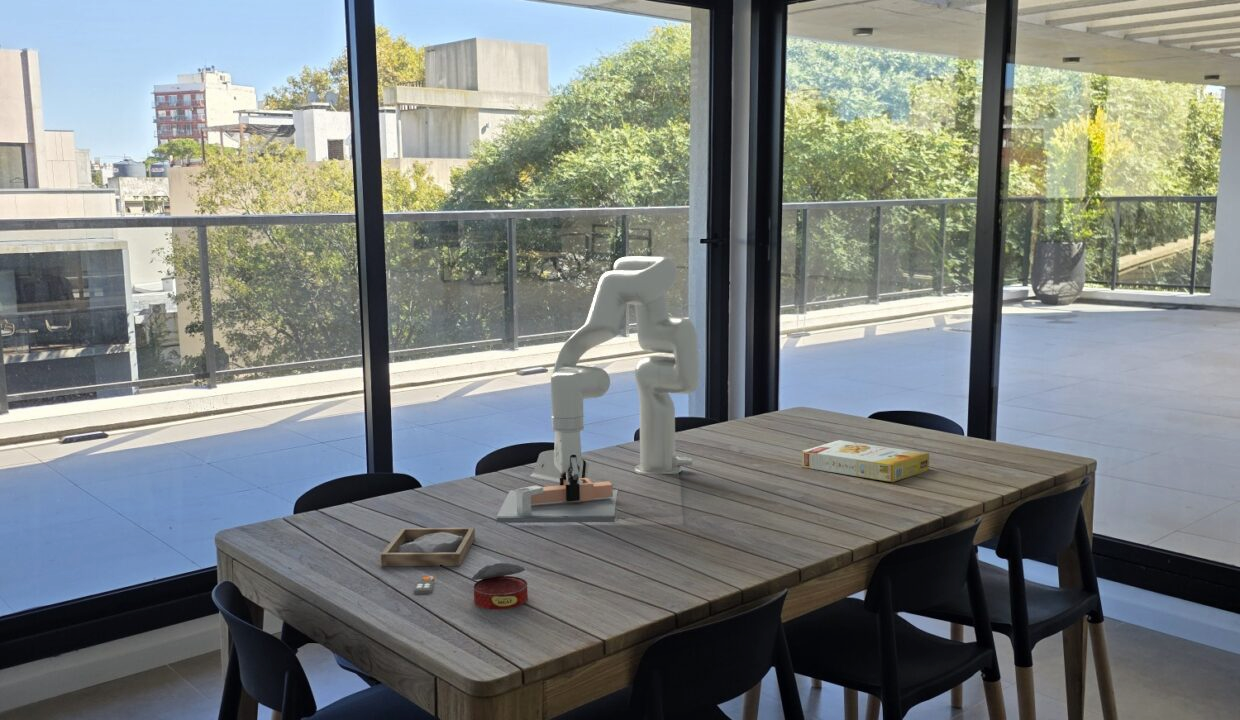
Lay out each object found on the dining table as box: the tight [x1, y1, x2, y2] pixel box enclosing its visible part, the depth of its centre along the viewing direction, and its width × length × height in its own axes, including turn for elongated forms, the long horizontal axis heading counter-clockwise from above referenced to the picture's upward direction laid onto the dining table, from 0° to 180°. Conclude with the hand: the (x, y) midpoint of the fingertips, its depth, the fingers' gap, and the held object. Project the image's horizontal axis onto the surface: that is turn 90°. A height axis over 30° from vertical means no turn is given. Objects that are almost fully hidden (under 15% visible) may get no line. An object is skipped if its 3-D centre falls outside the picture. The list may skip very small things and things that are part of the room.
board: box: [496, 489, 619, 524], centre depth 257 cm, size 27×23×2 cm
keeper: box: [515, 484, 544, 517], centre depth 249 cm, size 6×3×7 cm, turn 128°
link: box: [531, 477, 614, 504], centre depth 257 cm, size 22×6×4 cm, turn 105°
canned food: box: [471, 562, 528, 611], centre depth 197 cm, size 11×10×10 cm
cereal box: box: [801, 439, 930, 483], centre depth 291 cm, size 20×6×28 cm
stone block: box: [398, 532, 463, 553], centre depth 225 cm, size 12×5×10 cm
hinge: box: [529, 449, 590, 484], centre depth 280 cm, size 17×5×10 cm, turn 49°
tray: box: [380, 527, 476, 567], centre depth 226 cm, size 16×18×2 cm
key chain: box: [413, 575, 435, 595], centre depth 208 cm, size 13×4×2 cm, turn 3°
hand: (569, 496), depth 257 cm, fingers closed on link, 6 cm apart
